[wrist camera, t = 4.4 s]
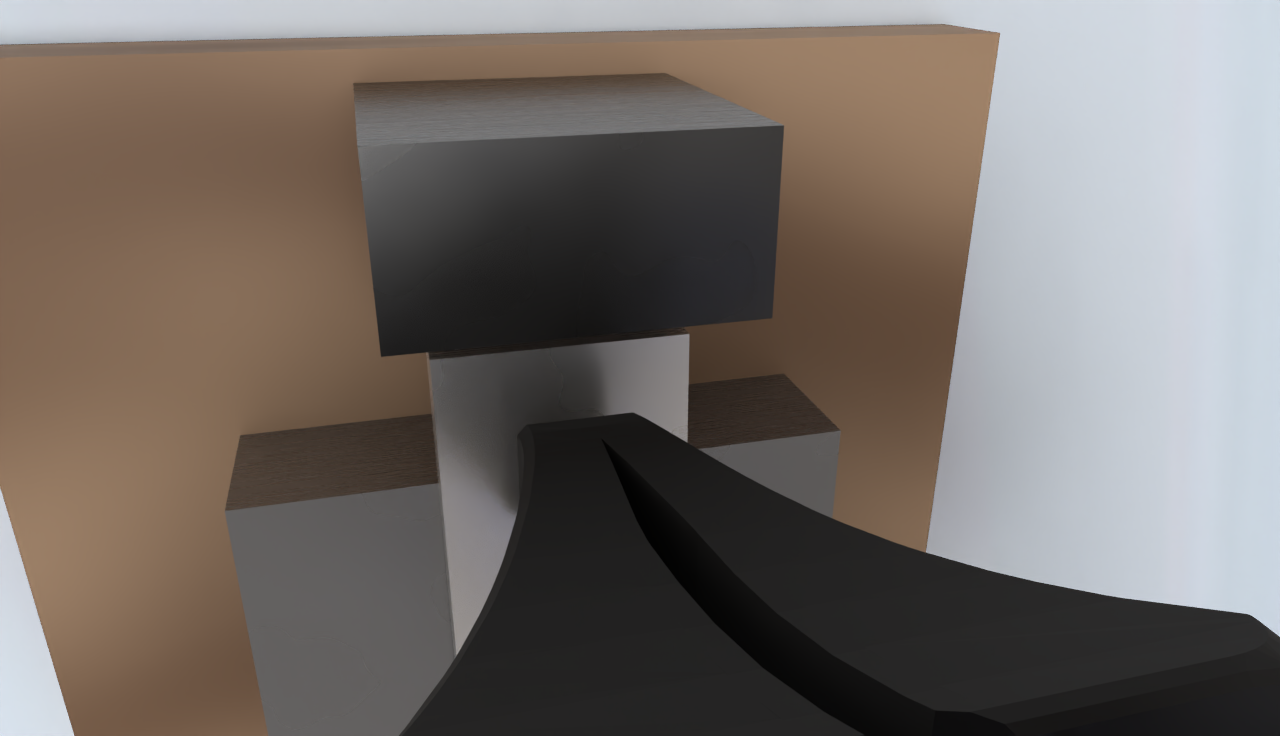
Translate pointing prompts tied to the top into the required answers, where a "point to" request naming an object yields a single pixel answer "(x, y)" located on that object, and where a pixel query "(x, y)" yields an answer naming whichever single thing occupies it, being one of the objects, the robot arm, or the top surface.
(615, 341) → the grey flat bar
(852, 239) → the board
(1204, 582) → the top surface
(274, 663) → the clamp block
